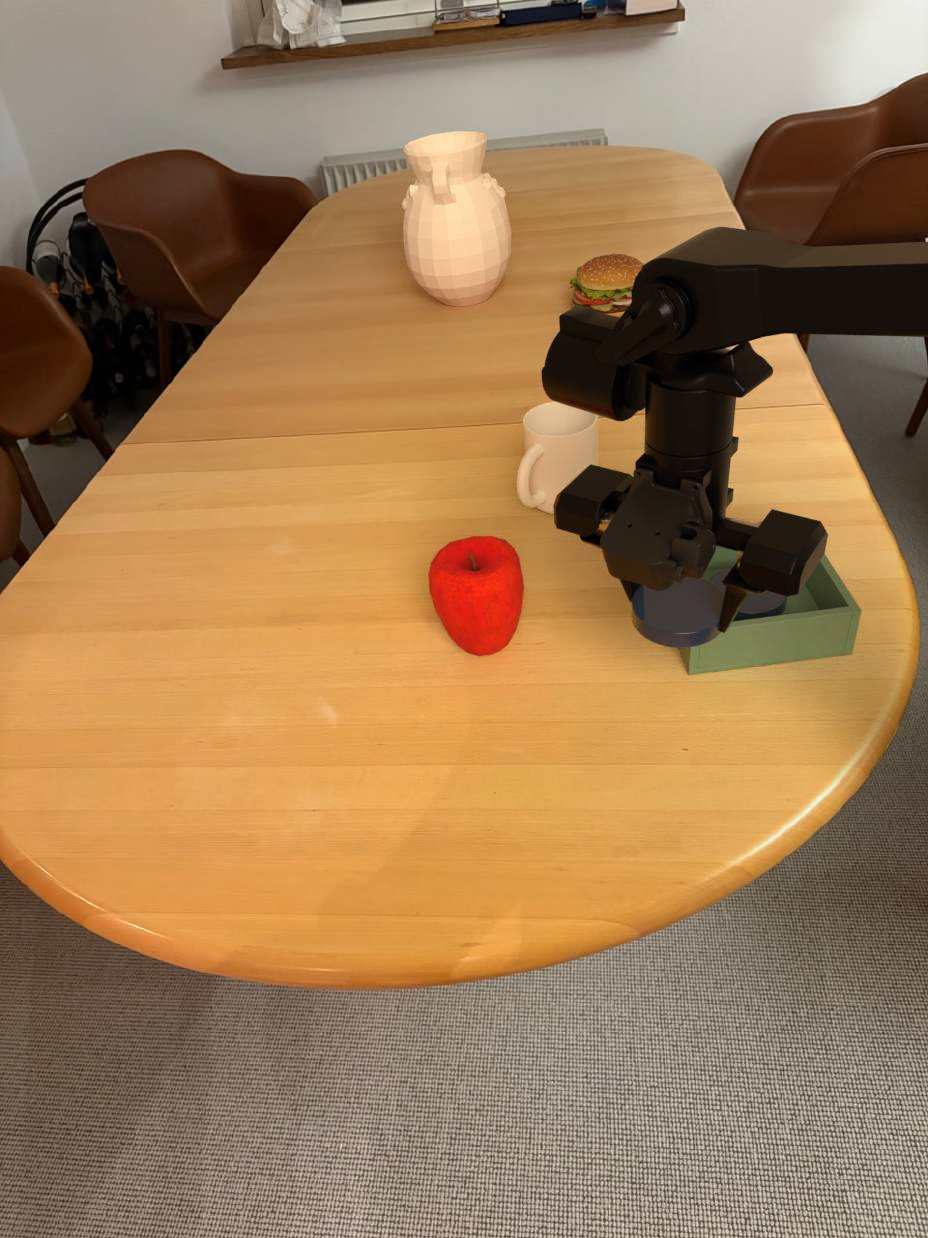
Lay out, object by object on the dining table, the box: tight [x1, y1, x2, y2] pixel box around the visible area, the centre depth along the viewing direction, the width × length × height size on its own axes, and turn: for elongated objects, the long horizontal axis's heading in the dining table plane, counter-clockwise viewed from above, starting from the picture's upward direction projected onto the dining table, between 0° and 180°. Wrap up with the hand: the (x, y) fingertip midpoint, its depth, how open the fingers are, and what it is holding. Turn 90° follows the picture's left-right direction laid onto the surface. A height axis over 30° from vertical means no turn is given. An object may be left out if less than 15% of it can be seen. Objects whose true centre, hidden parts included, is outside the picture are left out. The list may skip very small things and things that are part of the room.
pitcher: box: [401, 131, 513, 307], centre depth 148 cm, size 19×18×25 cm
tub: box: [678, 522, 862, 676], centre depth 82 cm, size 15×15×5 cm
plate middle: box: [631, 577, 725, 649], centre depth 69 cm, size 7×7×2 cm
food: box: [569, 253, 645, 317], centre depth 142 cm, size 14×14×8 cm
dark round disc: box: [710, 566, 788, 622], centre depth 83 cm, size 7×7×2 cm
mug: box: [516, 400, 600, 515], centre depth 99 cm, size 12×8×10 cm
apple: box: [427, 535, 525, 657], centre depth 82 cm, size 9×9×11 cm
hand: (678, 614), depth 69 cm, fingers closed on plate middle, 7 cm apart
